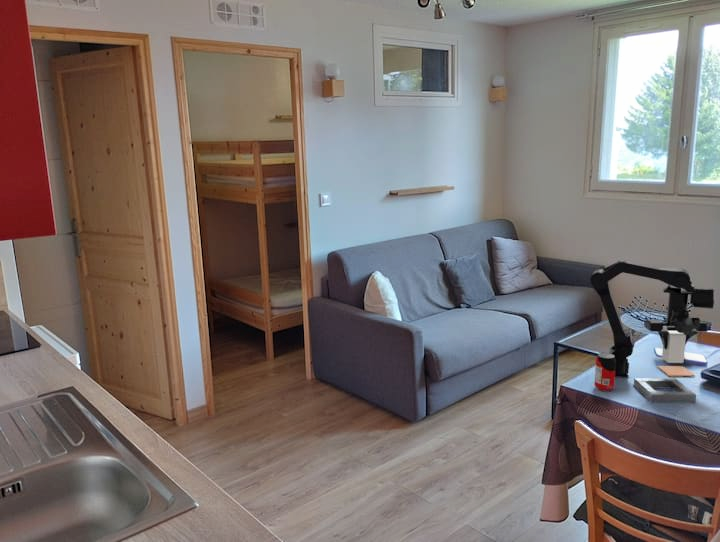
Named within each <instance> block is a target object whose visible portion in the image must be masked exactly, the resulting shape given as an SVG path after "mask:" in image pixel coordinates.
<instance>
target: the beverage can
mask: <svg viewBox="0 0 720 542" xmlns="http://www.w3.org/2000/svg"><path fill="white" fill-rule="evenodd" d="M614 357H615V356H614V355H613V354H610V353H609V352H599V353H598V354H597V357H596V358H595V370H594V372H595V373H594V383H593V384H594V386H595V387H596V389H597V388H598V390H599V389H600V390H599V391H602V390H604V391H603V392H610V391H612V390H613V389H615V383H616V382H615V380H616V377H615V371H616V360H615V358H614ZM609 390H610V391H609Z"/></svg>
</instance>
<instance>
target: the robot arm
mask: <svg viewBox="0 0 720 542" xmlns="http://www.w3.org/2000/svg"><path fill="white" fill-rule="evenodd" d="M623 273H624V274H628V275H632V276H637V277H638V276H639V277H643V278H648V279H652V280H657V281H659V282H663V283H665V284H667V286H666V287H664V288H662V289H663V293H665V294H666V293H667V294H668V302H667V306H666V307H665V310H667V314H666V317H665V318H664V321H665V322H662V321H660V320H659V319H651V318H649V319H646V320H645V321H644V325H643V326H644V328H646V329H647V330H648V331H650V332H657V333H658V336H659V337H660V340H661V344H662V347H663V346H664V349H667V341H668V334H669V332H668V331H667V328H676V329H677V331H678V332H679V333H684V334H685V335H686V341H685V346H686V345H687V343H688V341H689V339H690V338H691V336H693V335H697V334H698V332H699V333H701V332H702V333H707V332H708V329H709V325H708V324H707V322H705V321H703V320H701V319H700V318H699V317H690V315H689V314H690V313H689V310H688V303H689V304H690V305H691V306H692V307H693V308H697V309H708V310H709V309H710V310H711V309H712V310H713V309H714V305H715V297H714V292H715V290H714V287H713V288H712V287H707V288H705V287H703V288H702V287H696V286H695V284H694V283H693V282H692V281H691V277H690V273H689V272H688V271H687V270H686V269H684V268H680V267H679V268H678V267H657V266H652V265H647V264H642V263H637V262H633V261H627V260H624V259H619V260H617V261H616V262H615V263H612V264H611V265H608V266H606V267H605V268H603V269H601V268H599V269H596V270H594V271H593V272H592V274H591V276H590V278H589V281H590V284H591V286H592V287H593V290H594V291H595V292H596V294H597V295H598V296H599V298H600V300H601V303H602V306H603V310H604V312H605V314H606V315H605V316H606V317H607V320H608V323H609V327H610V329H611V332H612V335H613V346H611V347H610V348H609V352H608V353H610V354H613V355H614V356H615V357H614V358H615V360H616V371H615V378H629V377H630V376H629V370H630V369H629V368H630V362H629V359H628V358H629V357H630V356H632V354H633V352H634V348H635V345H636V342H635V340H634V338H633V335H632V334H633V333H632V332H631V331H629V332H628V331H626V329H625V328H624V324H623V322H622V319H621V317H620V314H619V310H618V309H617V305H616V303H615V301H614V298H613V294H612V290H611V282H610V281H611V280H613V279H614V278H616V277H617V276H619V275H621V274H623ZM682 289H683V290H682ZM688 300H689V302H688Z"/></svg>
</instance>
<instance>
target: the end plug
mask: <svg viewBox="0 0 720 542" xmlns="http://www.w3.org/2000/svg"><path fill="white" fill-rule="evenodd" d="M668 332H669V334H668V341H667V349H664V346H663V345H662V354H661V358H662V359H663V360H664V361H665V362H667V363H669V364H683V363H684V359H685V350H686V345H685V341H686V335H685V334H684V333H679V332H678V331H668Z"/></svg>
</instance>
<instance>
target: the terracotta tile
mask: <svg viewBox="0 0 720 542" xmlns="http://www.w3.org/2000/svg"><path fill="white" fill-rule="evenodd" d="M657 368H658V369H659V370H660V371H661V372H662V373H664V374H665V375H666V376H667V377H668V378H677V377H678V378H681V377H683V376H694V377H693V378H695V377H696V375H695V374H694V373H692V372H691V371H690V370H689V369H687V367H686V368H685V367H684V366H683V365H657ZM683 378H684V377H683Z"/></svg>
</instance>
